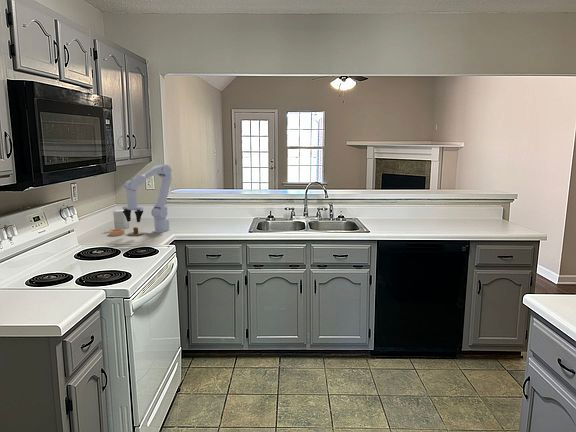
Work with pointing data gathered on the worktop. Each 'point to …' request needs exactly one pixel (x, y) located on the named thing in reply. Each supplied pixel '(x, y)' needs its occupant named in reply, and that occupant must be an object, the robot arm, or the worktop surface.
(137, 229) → the lid
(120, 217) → the supplement box
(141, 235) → the mat
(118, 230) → the bowl
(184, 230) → the worktop surface
